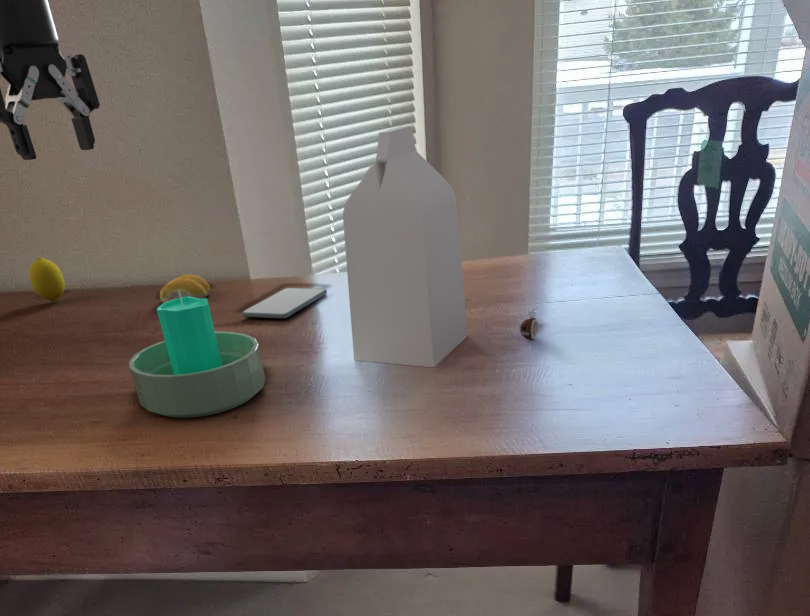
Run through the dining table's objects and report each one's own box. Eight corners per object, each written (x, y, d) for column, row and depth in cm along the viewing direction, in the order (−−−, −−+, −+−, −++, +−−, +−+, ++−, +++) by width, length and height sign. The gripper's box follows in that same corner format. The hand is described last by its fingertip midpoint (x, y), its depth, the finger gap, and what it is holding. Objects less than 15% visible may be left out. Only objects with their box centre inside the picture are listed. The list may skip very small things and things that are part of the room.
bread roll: (215, 290, 133) (210, 268, 130) (202, 305, 125) (197, 281, 123) (170, 294, 133) (165, 271, 131) (155, 308, 126) (149, 284, 123)
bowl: (201, 431, 82) (189, 384, 79) (116, 408, 89) (102, 365, 86) (291, 382, 92) (283, 340, 89) (207, 366, 99) (198, 326, 96)
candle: (205, 401, 87) (179, 299, 80) (168, 395, 89) (140, 295, 83) (237, 382, 91) (216, 284, 84) (201, 377, 94) (178, 281, 87)
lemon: (45, 308, 132) (29, 262, 127) (34, 303, 135) (18, 258, 131) (75, 300, 135) (60, 255, 130) (64, 296, 138) (49, 252, 134)
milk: (434, 367, 92) (420, 133, 78) (354, 360, 97) (326, 137, 82) (467, 336, 101) (460, 120, 86) (393, 330, 105) (374, 125, 91)
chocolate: (526, 334, 100) (527, 304, 98) (541, 336, 99) (542, 306, 96) (516, 341, 98) (516, 311, 96) (531, 343, 97) (531, 313, 94)
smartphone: (328, 288, 124) (285, 314, 113) (329, 294, 125) (286, 320, 113) (285, 287, 127) (239, 312, 115) (286, 293, 127) (240, 318, 116)
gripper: (47, 1, 91) (88, 147, 100) (-65, 1, 82) (-9, 162, 91) (84, -6, 88) (123, 146, 97) (-29, -6, 78) (25, 162, 87)
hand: (59, 154), depth 94 cm, fingers open, 8 cm apart
